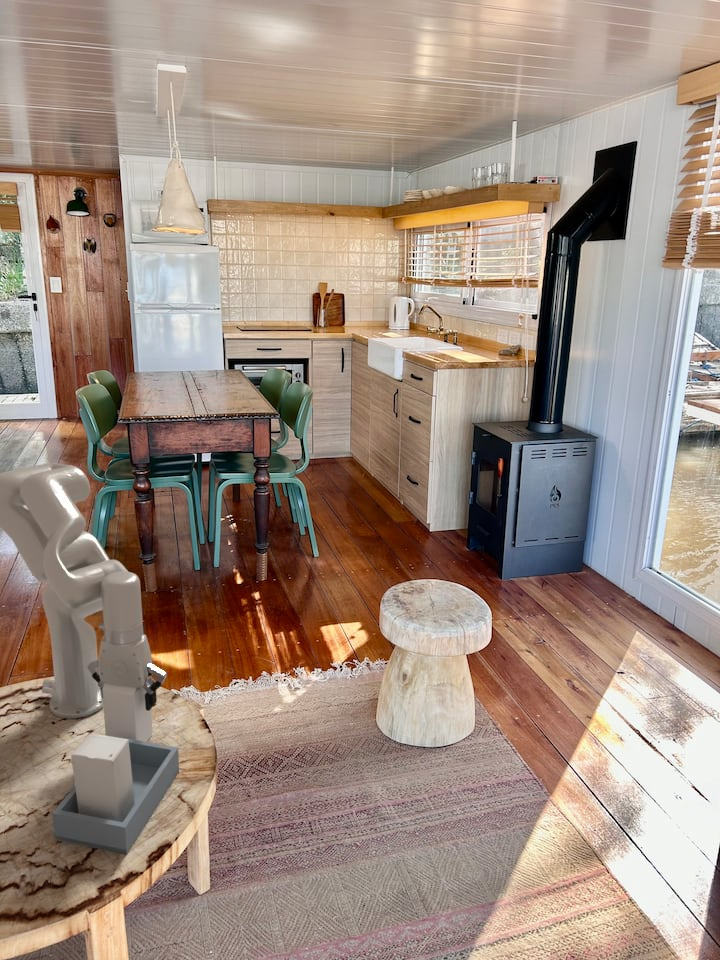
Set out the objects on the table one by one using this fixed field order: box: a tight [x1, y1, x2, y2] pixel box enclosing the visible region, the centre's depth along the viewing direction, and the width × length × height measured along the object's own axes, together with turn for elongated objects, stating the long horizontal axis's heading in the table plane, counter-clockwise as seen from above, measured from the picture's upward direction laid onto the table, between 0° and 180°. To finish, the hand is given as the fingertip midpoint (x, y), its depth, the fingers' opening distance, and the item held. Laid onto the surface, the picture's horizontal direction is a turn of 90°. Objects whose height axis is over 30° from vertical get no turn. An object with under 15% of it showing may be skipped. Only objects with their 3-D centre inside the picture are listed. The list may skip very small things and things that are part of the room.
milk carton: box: [102, 681, 153, 742], centre depth 156 cm, size 7×7×19 cm
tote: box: [51, 736, 180, 855], centre depth 141 cm, size 14×22×6 cm, turn 169°
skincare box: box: [70, 732, 135, 822], centre depth 135 cm, size 8×7×16 cm
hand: (129, 703), depth 155 cm, fingers open, 9 cm apart
